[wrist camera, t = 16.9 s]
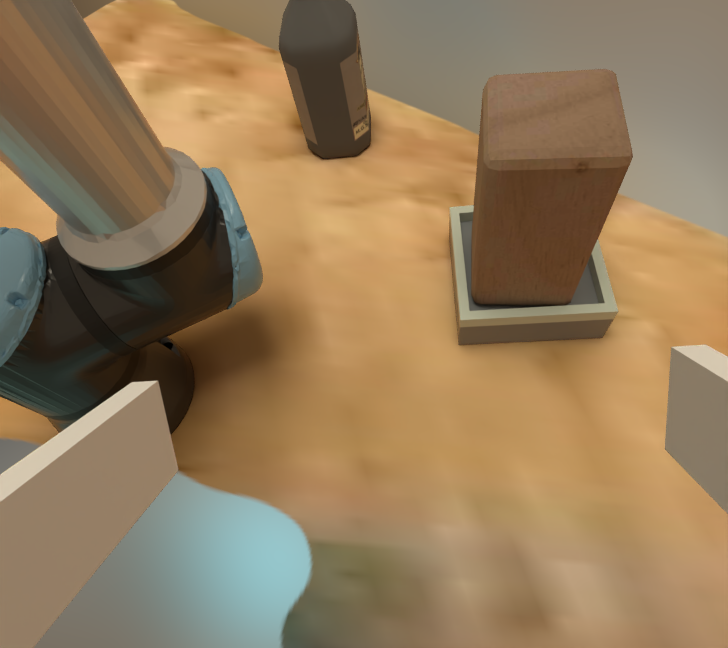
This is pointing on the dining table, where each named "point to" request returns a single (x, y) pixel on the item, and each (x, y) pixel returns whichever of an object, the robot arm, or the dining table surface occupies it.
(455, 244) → the square tray
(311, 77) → the liquor
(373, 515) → the dining table surface
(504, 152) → the wooden block
